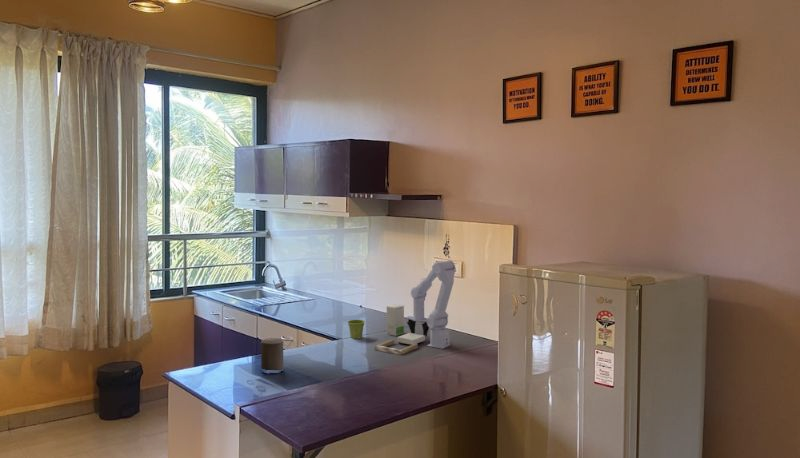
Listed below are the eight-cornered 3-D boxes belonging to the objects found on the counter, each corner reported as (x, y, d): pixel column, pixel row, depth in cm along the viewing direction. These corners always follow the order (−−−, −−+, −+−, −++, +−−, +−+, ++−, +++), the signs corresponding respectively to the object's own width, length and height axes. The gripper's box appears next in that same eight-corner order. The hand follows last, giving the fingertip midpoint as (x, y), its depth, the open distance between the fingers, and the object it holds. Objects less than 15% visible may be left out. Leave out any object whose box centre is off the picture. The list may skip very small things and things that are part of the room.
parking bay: (417, 347, 296) (417, 344, 295) (400, 354, 284) (400, 350, 284) (392, 343, 305) (391, 339, 305) (374, 349, 293) (374, 345, 293)
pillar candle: (261, 375, 255) (261, 341, 254) (260, 368, 265) (260, 335, 263) (284, 373, 258) (284, 339, 257) (282, 366, 267) (282, 334, 266)
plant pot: (366, 335, 322) (366, 319, 321) (363, 339, 312) (363, 323, 312) (349, 335, 323) (349, 319, 322) (346, 339, 313) (345, 323, 313)
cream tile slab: (425, 342, 307) (425, 335, 306) (413, 346, 298) (413, 340, 297) (409, 339, 312) (409, 332, 312) (397, 343, 304) (397, 337, 303)
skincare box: (395, 336, 319) (395, 307, 318) (385, 334, 323) (385, 306, 322) (404, 333, 326) (404, 305, 324) (395, 331, 330) (395, 303, 329)
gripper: (434, 310, 309) (434, 335, 310) (411, 307, 317) (412, 331, 318) (427, 312, 303) (427, 338, 304) (404, 309, 312) (404, 334, 313)
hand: (419, 335), depth 311 cm, fingers open, 7 cm apart
